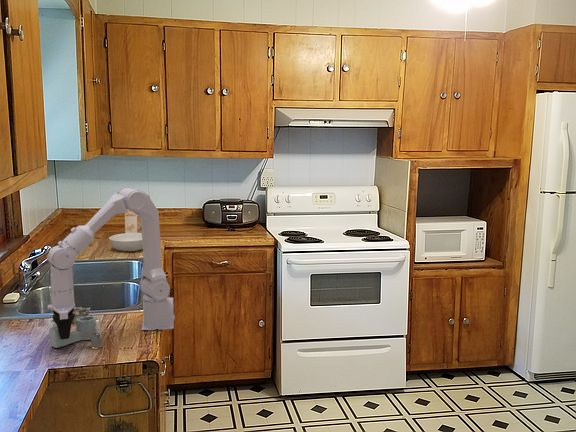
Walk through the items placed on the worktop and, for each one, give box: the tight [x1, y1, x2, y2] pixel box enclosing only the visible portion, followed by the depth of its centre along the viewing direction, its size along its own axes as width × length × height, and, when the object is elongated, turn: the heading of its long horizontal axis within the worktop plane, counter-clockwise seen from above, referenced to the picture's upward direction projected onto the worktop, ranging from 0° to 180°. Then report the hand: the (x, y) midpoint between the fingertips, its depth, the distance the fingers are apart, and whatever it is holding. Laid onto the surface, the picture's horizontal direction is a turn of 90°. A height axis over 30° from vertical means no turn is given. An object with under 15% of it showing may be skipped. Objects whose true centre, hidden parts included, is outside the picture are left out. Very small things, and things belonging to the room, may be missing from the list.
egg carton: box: [50, 306, 91, 325], centre depth 172 cm, size 11×8×4 cm
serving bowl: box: [108, 233, 143, 252], centre depth 272 cm, size 21×21×7 cm
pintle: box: [94, 318, 102, 341], centre depth 155 cm, size 2×2×6 cm
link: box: [49, 315, 98, 349], centre depth 155 cm, size 13×5×5 cm, turn 142°
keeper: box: [81, 332, 101, 348], centre depth 150 cm, size 2×5×4 cm, turn 78°
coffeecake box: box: [124, 209, 142, 233], centre depth 297 cm, size 15×7×20 cm, turn 179°
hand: (64, 335), depth 152 cm, fingers open, 4 cm apart
